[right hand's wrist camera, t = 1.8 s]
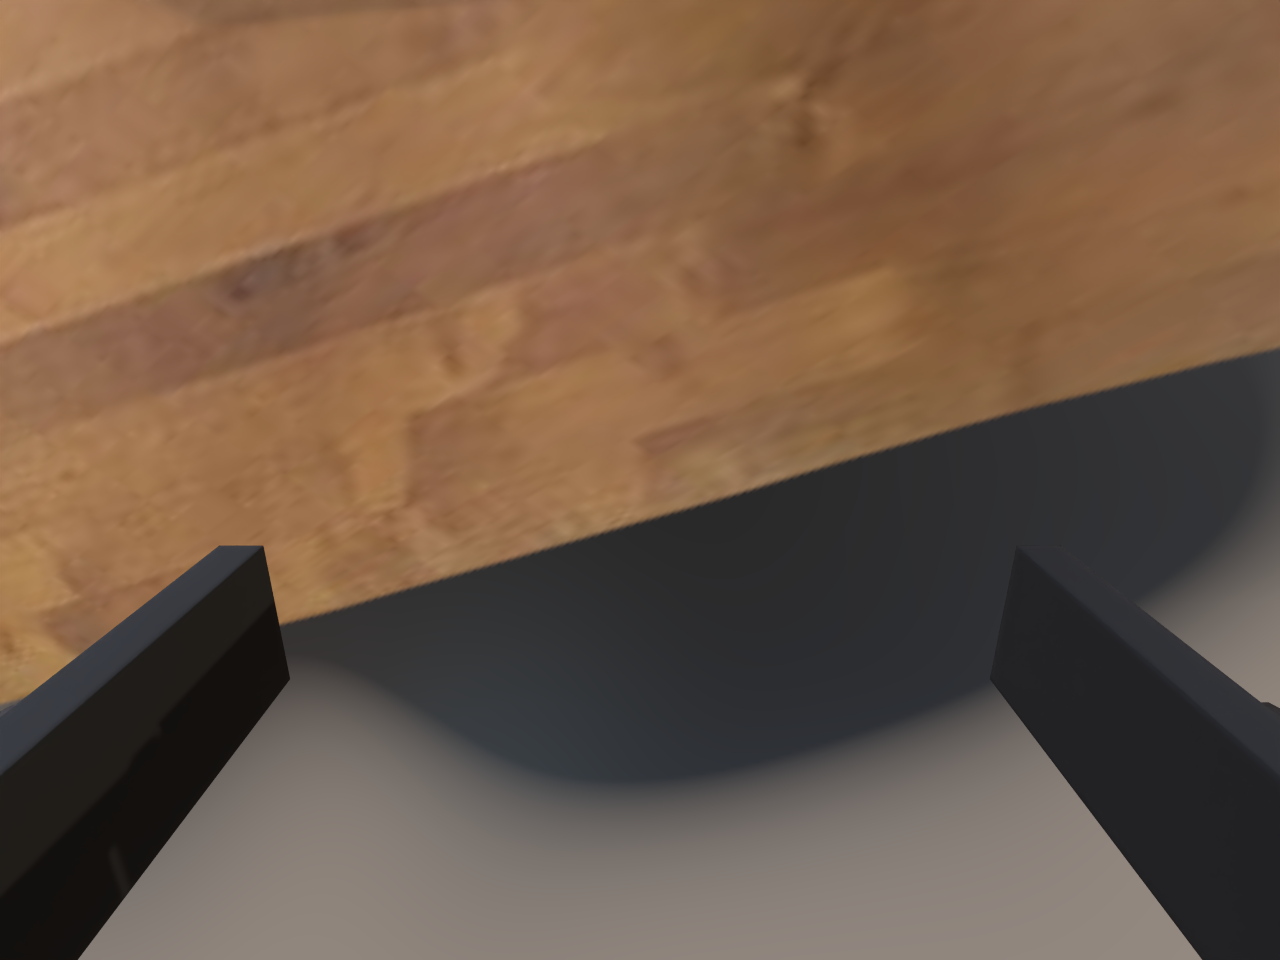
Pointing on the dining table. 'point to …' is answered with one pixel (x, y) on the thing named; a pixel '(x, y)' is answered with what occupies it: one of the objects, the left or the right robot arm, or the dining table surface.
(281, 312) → the dining table surface
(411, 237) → the dining table surface
